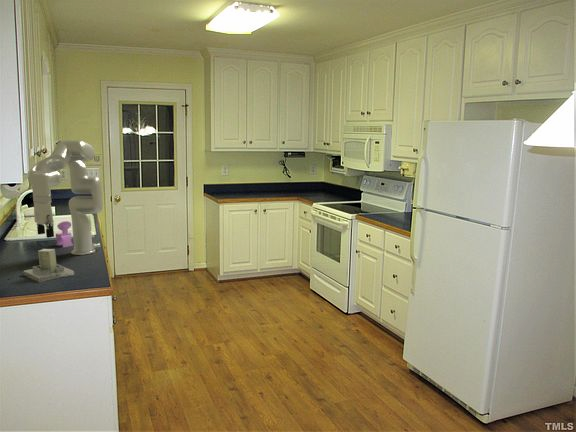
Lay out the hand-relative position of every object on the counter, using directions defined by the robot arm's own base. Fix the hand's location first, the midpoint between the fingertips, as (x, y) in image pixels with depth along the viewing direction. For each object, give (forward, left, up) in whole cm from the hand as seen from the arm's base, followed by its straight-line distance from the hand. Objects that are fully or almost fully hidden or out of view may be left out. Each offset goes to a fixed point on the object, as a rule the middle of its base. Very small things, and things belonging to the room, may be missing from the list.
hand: (45, 235), depth 235 cm
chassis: (0, 0, -19) cm, 19 cm away
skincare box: (0, 0, -19) cm, 19 cm away
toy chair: (-33, -57, -19) cm, 68 cm away
